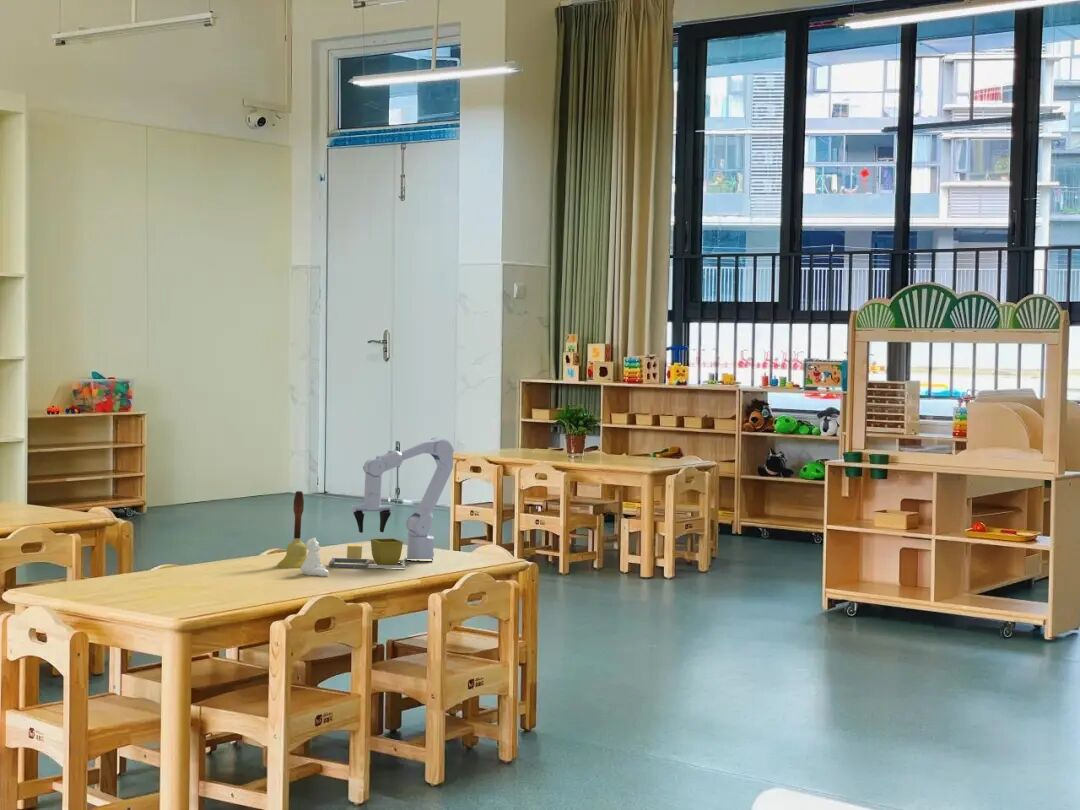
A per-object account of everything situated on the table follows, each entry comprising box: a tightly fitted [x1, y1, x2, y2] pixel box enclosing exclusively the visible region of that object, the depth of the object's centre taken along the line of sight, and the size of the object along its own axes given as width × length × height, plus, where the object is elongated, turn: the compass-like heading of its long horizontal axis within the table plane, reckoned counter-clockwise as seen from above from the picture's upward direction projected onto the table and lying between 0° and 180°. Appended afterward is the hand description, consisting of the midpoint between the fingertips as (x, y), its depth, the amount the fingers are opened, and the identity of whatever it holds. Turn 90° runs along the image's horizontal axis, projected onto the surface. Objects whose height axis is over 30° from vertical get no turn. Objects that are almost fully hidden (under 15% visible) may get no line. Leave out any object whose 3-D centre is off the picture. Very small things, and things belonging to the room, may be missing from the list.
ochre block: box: [346, 543, 363, 559], centre depth 461 cm, size 5×5×5 cm
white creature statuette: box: [300, 537, 330, 577], centre depth 426 cm, size 10×9×12 cm
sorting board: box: [329, 557, 406, 569], centre depth 449 cm, size 25×13×1 cm, turn 96°
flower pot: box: [370, 537, 404, 566], centre depth 449 cm, size 9×9×9 cm
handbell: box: [277, 490, 308, 569], centre depth 442 cm, size 12×12×25 cm
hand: (371, 532), depth 458 cm, fingers open, 7 cm apart
